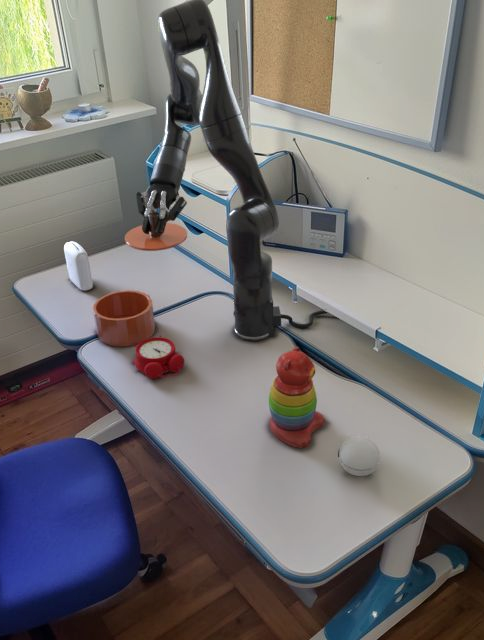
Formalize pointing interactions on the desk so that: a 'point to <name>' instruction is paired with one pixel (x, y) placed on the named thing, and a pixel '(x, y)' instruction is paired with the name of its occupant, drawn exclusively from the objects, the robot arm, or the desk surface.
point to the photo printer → (78, 265)
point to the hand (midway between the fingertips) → (151, 233)
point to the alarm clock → (157, 357)
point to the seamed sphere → (359, 455)
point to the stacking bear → (294, 400)
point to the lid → (156, 236)
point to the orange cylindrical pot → (124, 318)
